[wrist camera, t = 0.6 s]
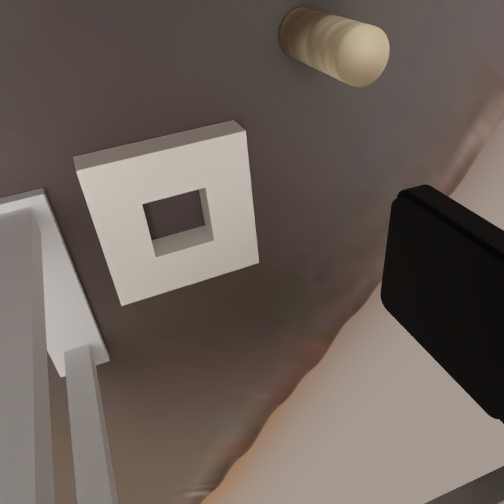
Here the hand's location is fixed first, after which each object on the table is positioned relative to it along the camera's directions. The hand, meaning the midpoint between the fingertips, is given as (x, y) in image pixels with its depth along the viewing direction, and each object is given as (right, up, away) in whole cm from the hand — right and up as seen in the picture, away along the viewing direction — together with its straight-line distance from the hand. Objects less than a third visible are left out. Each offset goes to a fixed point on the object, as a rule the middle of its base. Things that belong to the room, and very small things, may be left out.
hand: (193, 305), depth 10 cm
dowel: (+5, +20, +31) cm, 37 cm away
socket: (-6, +5, +35) cm, 36 cm away
